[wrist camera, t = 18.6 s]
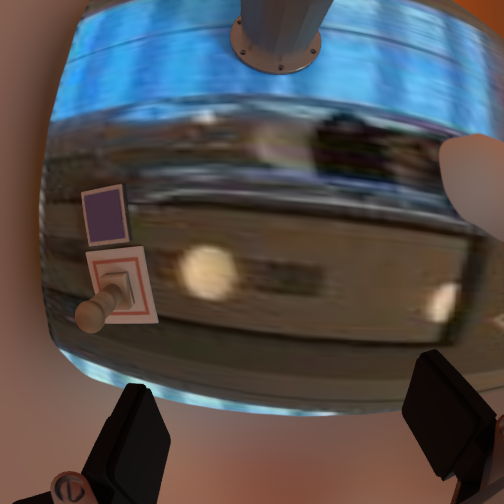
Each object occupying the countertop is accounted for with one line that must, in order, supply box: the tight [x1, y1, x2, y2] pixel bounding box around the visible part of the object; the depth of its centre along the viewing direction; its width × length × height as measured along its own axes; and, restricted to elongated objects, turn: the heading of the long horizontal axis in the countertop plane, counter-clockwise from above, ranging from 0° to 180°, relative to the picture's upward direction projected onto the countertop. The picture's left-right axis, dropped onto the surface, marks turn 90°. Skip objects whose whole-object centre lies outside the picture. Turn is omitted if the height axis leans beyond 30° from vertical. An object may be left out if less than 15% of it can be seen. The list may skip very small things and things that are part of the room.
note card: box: [86, 246, 158, 323], centre depth 39 cm, size 12×10×1 cm
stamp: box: [75, 272, 135, 333], centre depth 33 cm, size 5×4×12 cm
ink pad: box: [81, 184, 133, 246], centre depth 36 cm, size 8×7×2 cm
